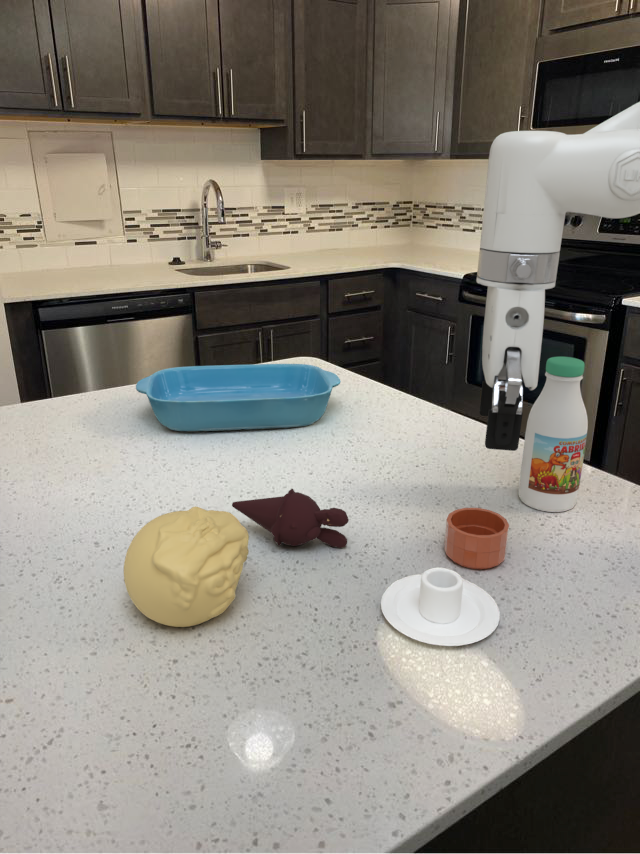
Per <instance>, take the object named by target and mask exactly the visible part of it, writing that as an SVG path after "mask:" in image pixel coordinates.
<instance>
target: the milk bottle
mask: <svg viewBox="0 0 640 854" xmlns="http://www.w3.org/2000/svg"><path fill="white" fill-rule="evenodd" d="M585 366H586V365H585V362H584V361H583V359H579V358H576V357H572V356H552V357H549V358H547V360H546V364H545V372H544V376H545V377H546V378H545V383H544V386H543V388H542V390H541V392H540V394H539V396H538V397H537V398H536V400H535V401H534V403H533V405H532V406H531V408H530V411H529V414H528V417H527V422H526V427H525V432H524V433H525V434H524V442H523V449H522V457H521V467H520V474H519V475H520V476H519V482H518V484H519V485H518V496H519V500H520V501H521V502H522V503H523V504H524V505H526V506H528V507H530V508H532V509H535V510H538V511H543V512H549V513H562V512H566V511H570V510H572V509H573V508H574V507H575V506H576V505H577V502H578V497H579V491H580V484H581V477H582V473H583V471H582V470H583V465H584V464H583V463H584V458H585V451H586V444H587V437H588V428H589V426H588V424H589V421H588V420H589V419H588V413H587V409H586V406H585V403H584V400H583V397H582V391H581V381H582V380H583V379H584V376H583V375H584V373H585Z"/></svg>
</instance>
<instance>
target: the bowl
mask: <svg viewBox="0 0 640 854" xmlns="http://www.w3.org/2000/svg"><path fill="white" fill-rule="evenodd" d="M445 519H446V521H445V532H444V533H445V534H444V544H443V545H444V547H443V548H444V552H445V554H446V556H447V557H448V558H449V559H450V560H451V561H453V562H454V563H455V564H457V565H459V566H461V567H463V568H466V569H471V570H488V569H492V568H494V567H497V566H499V565H500V564H501V563H503V562H504V561H505V559H506V556H507V549H508V548H507V547H508V539H509V530H510V524H509V522H508V520H507V518H506V517H504V516H503V515H501V514H500V513H498V512H495V511H493V510H490V509H487V508H481V507H462V508H458V509H455V510H453V511H451V512H449V513H448V515H447V517H446V518H445Z"/></svg>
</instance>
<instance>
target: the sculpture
mask: <svg viewBox="0 0 640 854" xmlns="http://www.w3.org/2000/svg"><path fill="white" fill-rule="evenodd" d="M249 537H250V535H249V532H248V529H247V528H246V527H245V526H244V525H242V524H241V522H240V521H239V519H238V518H237V517H236V516H235V515H234V514H233V513H231V512H229V511H224V510H213V509H209V510H207V509H204V508H202V507H199V506H192V507H191V508H189V509H187V510H176V511H170V512H166V513H164V514H161V515H159V516H157V517H155V518H153V519H151V520H149V521H148V522H147V523H146V524H145V525H143V526H142V527H141V528H140V529H139V531H137V533H136V534H135V535H134V536H133V538H132V540H131V542H130V544H129V546H128V548H127V551H126V554H125V558H124V563H123V579H124V585H125V588H126V592H127V594H128V595H129V598H130V599H131V602H132V603H133V604H134V606H135V607H136V608H137V610H139V612H140V613H142V614H143V616H145V617H146V618H148V619H149V620H152V621H154V622H156V623H158V624H161V625H163V626H164V625H165V626H169V627H175V628H188V627H193V626H197V625H200V624H203V623H206V622H208V621H209V620H212V619H213V618H217V617H218V616H220V615H222V614H223V613H224V612H225V611H226V610H227V609H228V608H229V606H230V605H231V604H233V602H234V600H235V599H236V590H237V587H238V584H239V582H240V580H241V579H240V578H241V575H242V573H243V569H244V564H245V562H247V560H248V555H249V551H250V550H249V540H250V538H249Z"/></svg>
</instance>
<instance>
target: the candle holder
mask: <svg viewBox="0 0 640 854" xmlns="http://www.w3.org/2000/svg"><path fill="white" fill-rule="evenodd" d="M380 609H381V612H382V614H383V617H384V618H385V620H386V621H387V622H388V623H389V624H390V626H392V627H393V628H394V629H395V630H397V631H398V632H399V633H401V634H403V635H404V636H407V637H408V638H411V639H413V640H415V641H418V642H421V643H425V644H428V645H434V646H440V647H441V646H443V647H458V646H466V645H470V644H474V643H477V642H480V641H482V640H484V639H485V638H487V637H489V636H490V635H492V634H493V632H495V630H496V629H497V628H498V625H499V623H500V620H501V614H500V608H499V606H498V604H497V602H496V601H495V599H494V598H493V597H492V596H491V595H490V594H489V592H487V591H486V590H485V589H484V588H482V587H480V586H479V585H477V584H476V583H473V582H472V581H469V580H467V579H464V578H463V577H462V576H461V574H460V573H458V572H457V571H455V570H453V569H451V568H448V567H441V566H440V567H431V568H428V569H425V571H423V572H422V573H416V574H410V575H407V576H404V577H401V578H399V579H397V580H394V581H393V582H392V583H391V584H390V585H388V587H387V588H386V589H385V591H383V594H382V596H381V599H380Z"/></svg>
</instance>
